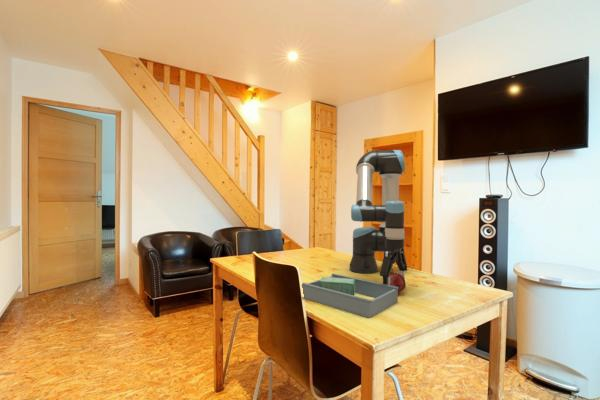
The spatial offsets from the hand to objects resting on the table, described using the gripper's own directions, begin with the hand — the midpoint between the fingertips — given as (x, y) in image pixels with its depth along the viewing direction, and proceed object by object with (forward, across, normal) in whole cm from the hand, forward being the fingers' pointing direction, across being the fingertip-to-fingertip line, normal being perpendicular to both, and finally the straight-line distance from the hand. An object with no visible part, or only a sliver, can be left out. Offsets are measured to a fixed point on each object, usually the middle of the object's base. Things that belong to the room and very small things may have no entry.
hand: (394, 289), depth 130 cm
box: (+2, +21, -14) cm, 25 cm away
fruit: (+2, 0, 0) cm, 2 cm away
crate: (+2, +20, -9) cm, 22 cm away
